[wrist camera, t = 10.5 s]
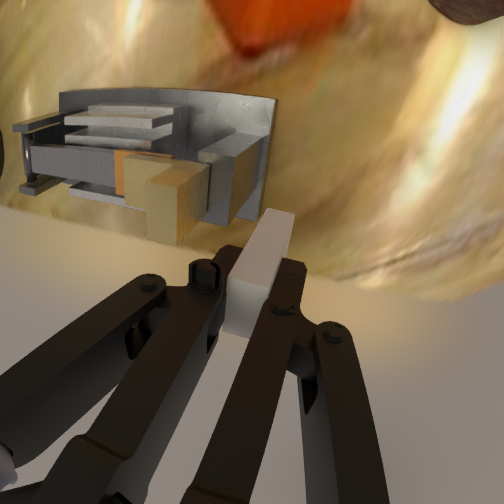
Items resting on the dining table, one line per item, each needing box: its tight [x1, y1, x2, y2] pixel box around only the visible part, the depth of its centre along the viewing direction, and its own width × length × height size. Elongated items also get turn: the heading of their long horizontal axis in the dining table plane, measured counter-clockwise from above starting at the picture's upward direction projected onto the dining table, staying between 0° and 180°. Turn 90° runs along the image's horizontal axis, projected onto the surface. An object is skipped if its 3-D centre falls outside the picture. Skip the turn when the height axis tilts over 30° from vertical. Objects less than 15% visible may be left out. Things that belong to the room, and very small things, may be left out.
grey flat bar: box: [23, 132, 192, 195], centre depth 23 cm, size 20×5×1 cm, turn 83°
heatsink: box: [13, 88, 278, 227], centre depth 27 cm, size 26×12×10 cm, turn 83°
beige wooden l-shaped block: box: [123, 154, 210, 247], centre depth 19 cm, size 6×4×5 cm, turn 83°
